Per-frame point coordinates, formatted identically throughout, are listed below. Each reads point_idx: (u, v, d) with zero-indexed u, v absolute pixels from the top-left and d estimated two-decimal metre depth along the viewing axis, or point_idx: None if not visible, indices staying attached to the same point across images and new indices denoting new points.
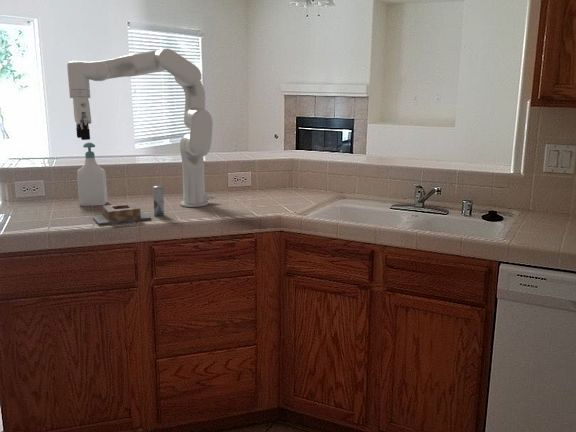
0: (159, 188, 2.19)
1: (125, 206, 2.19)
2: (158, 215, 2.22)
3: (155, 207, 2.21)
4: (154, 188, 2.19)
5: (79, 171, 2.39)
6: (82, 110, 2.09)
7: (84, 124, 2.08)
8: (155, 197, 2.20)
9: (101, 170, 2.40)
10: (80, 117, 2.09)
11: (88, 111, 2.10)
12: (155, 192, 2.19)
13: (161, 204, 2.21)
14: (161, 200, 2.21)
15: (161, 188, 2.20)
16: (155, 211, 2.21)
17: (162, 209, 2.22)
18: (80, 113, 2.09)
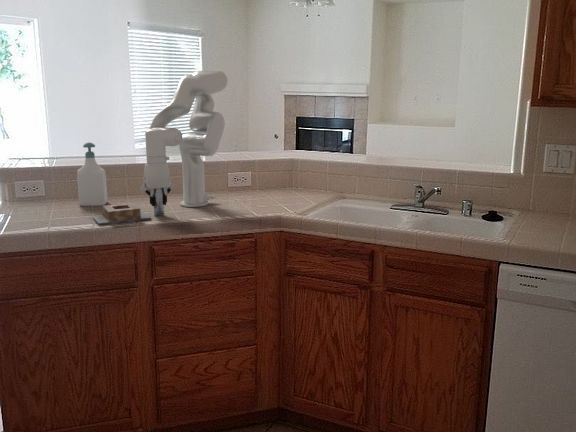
0: (159, 188, 2.19)
1: (125, 206, 2.19)
2: (158, 215, 2.22)
3: (155, 207, 2.21)
4: None
5: (79, 171, 2.39)
6: None
7: None
8: (155, 197, 2.20)
9: (101, 170, 2.40)
10: None
11: None
12: (155, 192, 2.19)
13: (161, 204, 2.21)
14: (161, 200, 2.21)
15: (161, 188, 2.20)
16: (155, 211, 2.21)
17: (162, 209, 2.22)
18: None
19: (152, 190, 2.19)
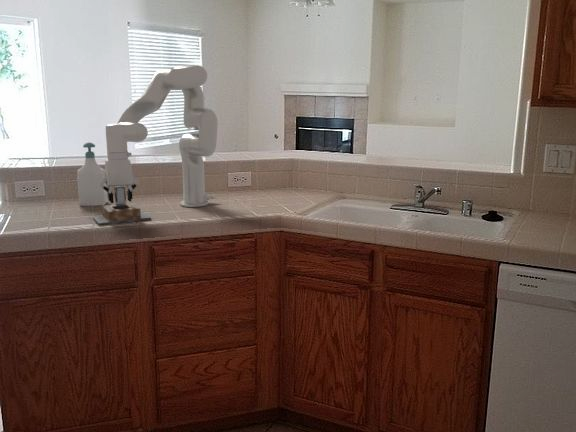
0: (121, 189, 2.12)
1: None
2: None
3: (117, 208, 2.14)
4: (115, 189, 2.11)
5: (79, 171, 2.39)
6: None
7: (135, 185, 2.16)
8: (117, 198, 2.12)
9: (101, 170, 2.40)
10: (132, 180, 2.14)
11: None
12: (117, 193, 2.12)
13: (123, 205, 2.14)
14: (123, 201, 2.13)
15: (123, 189, 2.12)
16: None
17: None
18: (132, 173, 2.14)
19: (111, 187, 2.11)
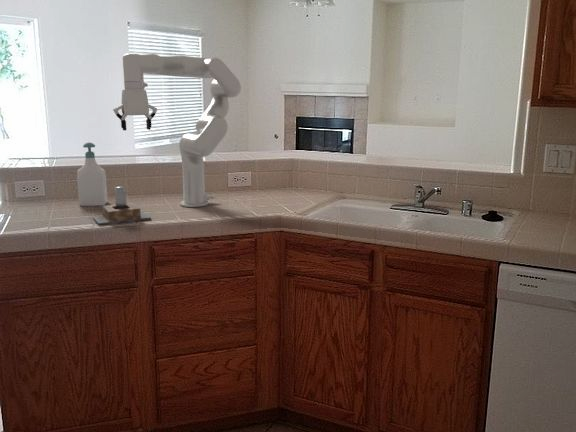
0: (121, 189, 2.12)
1: None
2: None
3: (117, 208, 2.14)
4: (116, 189, 2.12)
5: (79, 171, 2.39)
6: None
7: (154, 114, 2.22)
8: (117, 198, 2.13)
9: (101, 170, 2.40)
10: (148, 108, 2.20)
11: None
12: (117, 193, 2.12)
13: (123, 205, 2.14)
14: (123, 201, 2.13)
15: (123, 189, 2.13)
16: None
17: None
18: (148, 104, 2.19)
19: (126, 115, 2.16)
